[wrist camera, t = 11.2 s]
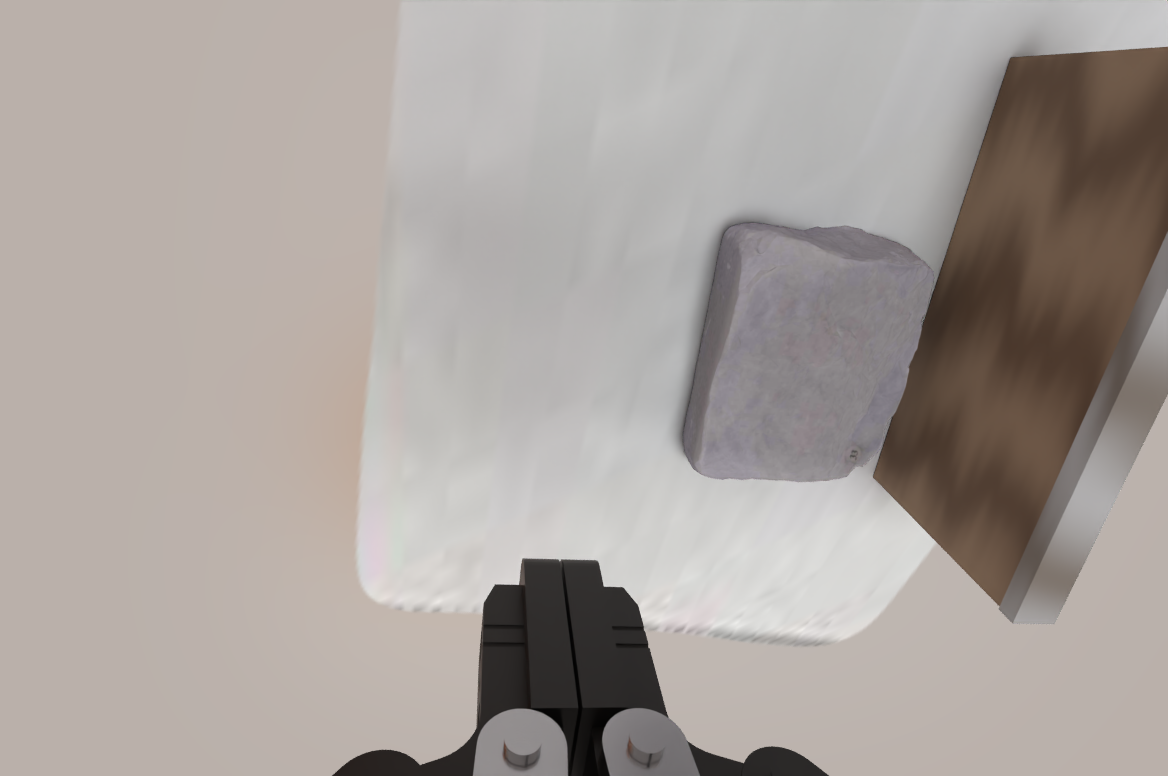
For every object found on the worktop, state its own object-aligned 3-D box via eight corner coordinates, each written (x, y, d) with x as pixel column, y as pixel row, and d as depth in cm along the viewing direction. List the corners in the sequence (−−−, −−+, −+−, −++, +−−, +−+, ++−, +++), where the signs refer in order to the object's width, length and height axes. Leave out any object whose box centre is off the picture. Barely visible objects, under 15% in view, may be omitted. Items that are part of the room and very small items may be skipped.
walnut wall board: (1007, 57, 28) (1283, 37, 18) (1046, 63, 28) (1338, 47, 18) (870, 477, 36) (1012, 623, 26) (901, 478, 36) (1054, 624, 26)
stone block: (891, 222, 32) (705, 211, 29) (971, 248, 28) (765, 238, 25) (826, 439, 37) (660, 450, 34) (886, 488, 33) (704, 506, 30)
